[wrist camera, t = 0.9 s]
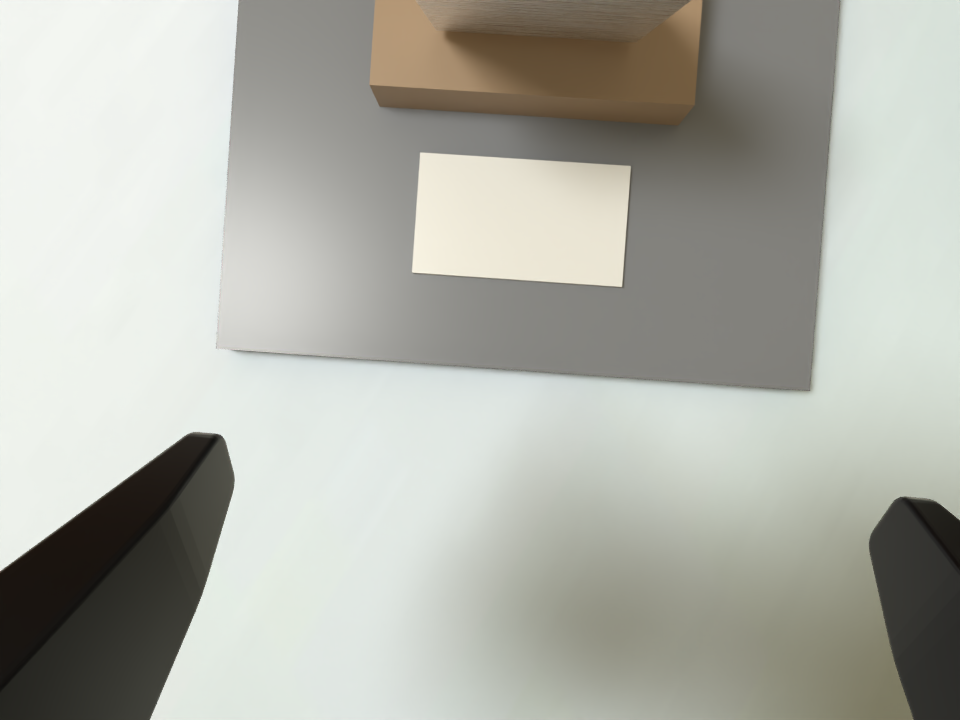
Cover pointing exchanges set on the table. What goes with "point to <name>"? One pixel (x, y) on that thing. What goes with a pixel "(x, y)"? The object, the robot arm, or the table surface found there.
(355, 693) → the table surface
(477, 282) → the board
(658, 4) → the bench scraper
